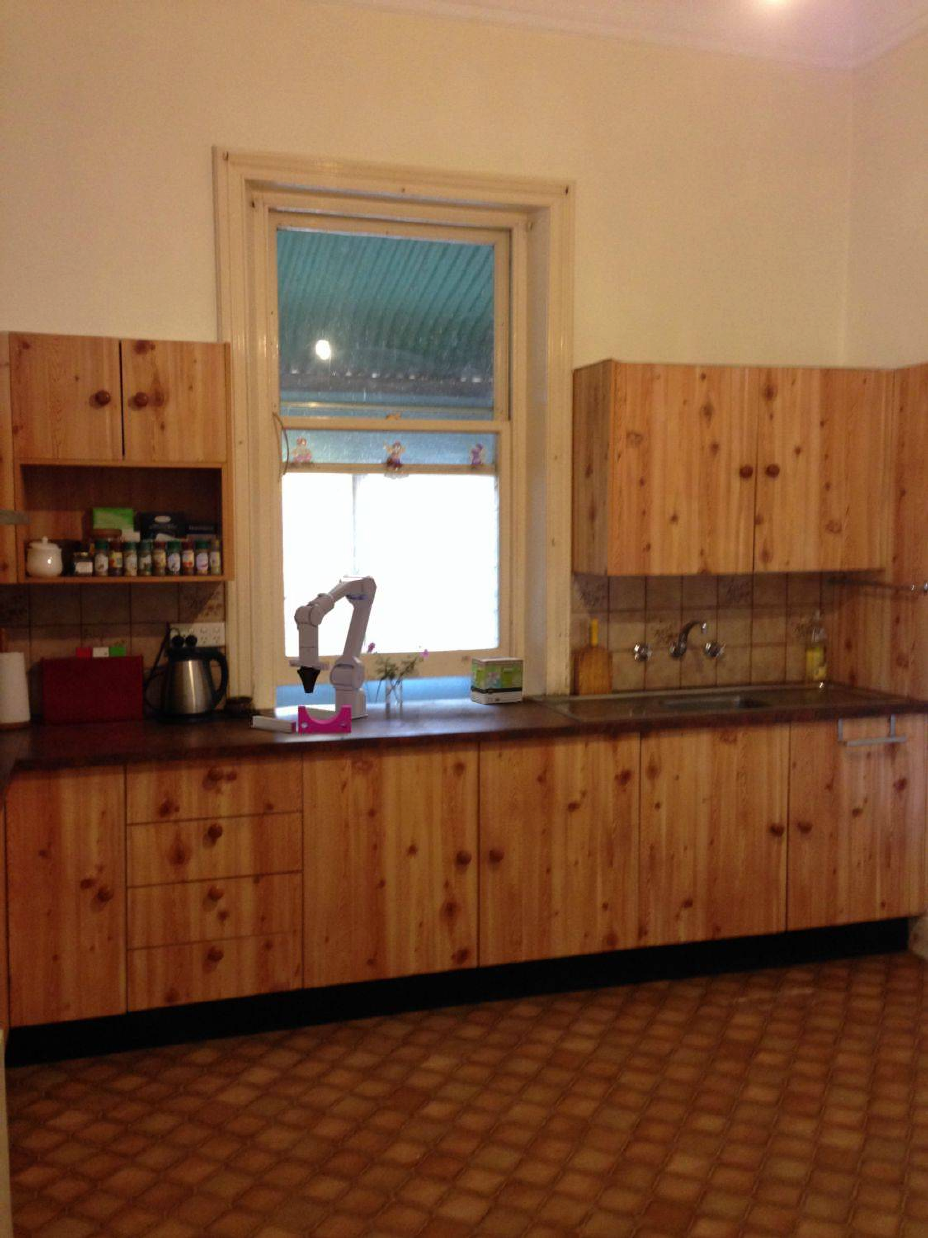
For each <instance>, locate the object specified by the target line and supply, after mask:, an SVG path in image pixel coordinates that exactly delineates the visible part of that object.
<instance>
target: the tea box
mask: <svg viewBox="0 0 928 1238" xmlns="http://www.w3.org/2000/svg"><path fill="white" fill-rule="evenodd" d="M470 669H471V671H470V672H471V674H470V701H472V702H474V703H477V704H481V705H486V704H487V705H488V704H500V703H501V704H502V703H504V704H505V703H519V702H518V701H521V702H523V688H524V687H523V686H524V685H523V682H524V659H521V658H517V657H513V656H491V657H472V658H471V666H470Z"/></svg>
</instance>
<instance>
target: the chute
mask: <svg viewBox="0 0 928 1238" xmlns="http://www.w3.org/2000/svg"><path fill="white" fill-rule="evenodd" d="M305 707H306V706H305ZM306 710H307V712H308V714H309V715H310V716H311V717H312V718H313V719H315V718H316V719H319V720H327V719H330V718H332V717H334V716H335V715H336V714H338V713H339V712H337V711H335V710H330V709H323V708H316V707H309V706H308V707H306ZM342 724H346V723H345V722H343V723H342ZM250 728H253V729H254V728H255V729H260V730H265V731H272V732H275V733H276V732H277V733H284V734H294V733H297V721H292V720H286V719H282V718H281V719H280V718H276V717H275V718H274V717H269V716H262V715H255V716H252V725H251V726H250Z"/></svg>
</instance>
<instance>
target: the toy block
mask: <svg viewBox="0 0 928 1238" xmlns="http://www.w3.org/2000/svg"><path fill="white" fill-rule="evenodd" d="M343 722H345V723H343ZM302 724H306V726H302ZM297 731H298V732H297V734H298V733H301V734H340V733H345V734H346V733H352V719H351V705H341V710H340V712H339V713H338V714H336V715H335V716H334V717H332V718H330V719H327V720H319V719H316V718H315V719H313V718H312V717H311V716H310V715H309V714H308V712H307V710H306V705H298V706H297Z"/></svg>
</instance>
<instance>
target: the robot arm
mask: <svg viewBox="0 0 928 1238" xmlns="http://www.w3.org/2000/svg"><path fill="white" fill-rule="evenodd" d="M377 587H378V586H377V583H376V581H375V579H374V577H373V576H371V575H351V574H345V575H343V577H340V578H339V581H338V583H337V584H336V585H335V586H334V587H333V588H332V589H331V590H330V591H329V592H328V593H326V592H319V593H317V596H316V597H314V599H312V600H310V601H308V603H307V604H306V605H300V606H299V607H297V609H296V610H295V613H294V615H293V619H294V623H295V624H296V629H297V630H296V631H298V659H289V661H288V667H291V668H293V667H295V668H299V669H296V673H297V674H298V676H299V678H300V680H301V684H302V686H303V690H304V693H305V694H313V693H314V689H315V686H316V682H317V680H318V677H319V676H320V674H321V672H322V671H323V672H324V671H325V672H326V671H329V670H330V671H329V674H328V678H329V679H328V680H329V683H330V685H332V688H333V689H334V711H337V712H340V710H341V705H351V720H353V719H359V718H365V717H368V716H369V714H368V713H367V694H366V692H365V690H364V688H362V686H363V684H364V682H365V671H366V670H365V669H366V666H365V664H364V663H363V662H362V661H361V659H360V658H361V655H362V654H361V653H362V650H363V646H364V641H365V638H366V632H367V629H368V625H369V620H370V616H371V612H372V607H373V604H374V601H375V596H376V592H377ZM343 598H345V599H346V600H347V601H348V603H349V604H351V605H352V606H353V610H352V614H351V618H350V623H349V627H348V631H347V634H346V638H345V643H344V647H343V651H342V655H341V656H339V657H338V658H337V659H335V660H334V663H333V666H332V667H331V669H330V667H329V666H330V663H327V662H323V661H319V658H320V657H319V625H321V624H322V622H323V620H324V618H325V616H326V615H328V614H329V613H330V612H331V611H332V610H334V609H335V604H336V603H337V602H339V601H340V600H341V599H343Z"/></svg>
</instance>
